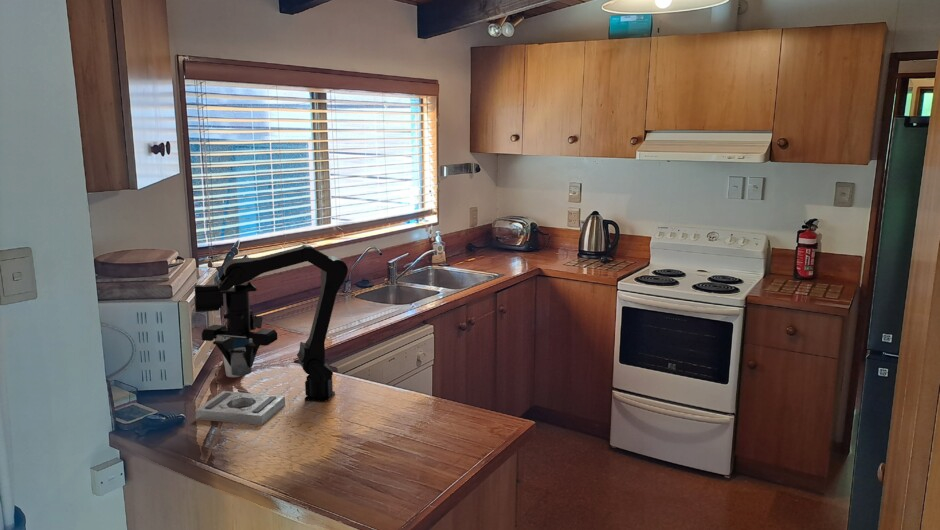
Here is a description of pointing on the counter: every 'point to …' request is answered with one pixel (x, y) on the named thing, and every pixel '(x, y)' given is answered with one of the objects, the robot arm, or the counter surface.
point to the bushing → (239, 362)
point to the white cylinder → (228, 368)
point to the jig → (254, 413)
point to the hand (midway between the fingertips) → (241, 366)
